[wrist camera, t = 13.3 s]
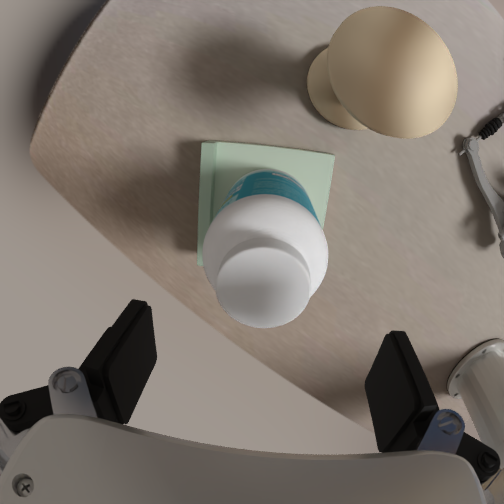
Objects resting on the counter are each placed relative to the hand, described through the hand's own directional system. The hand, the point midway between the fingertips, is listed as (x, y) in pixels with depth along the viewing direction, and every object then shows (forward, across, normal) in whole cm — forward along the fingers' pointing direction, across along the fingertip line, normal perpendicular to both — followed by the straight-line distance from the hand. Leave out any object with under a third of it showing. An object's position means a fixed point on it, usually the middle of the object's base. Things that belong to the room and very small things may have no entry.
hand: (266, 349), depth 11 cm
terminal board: (+18, +1, -1) cm, 18 cm away
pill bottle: (+17, +1, -1) cm, 17 cm away
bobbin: (+18, -5, -13) cm, 23 cm away
